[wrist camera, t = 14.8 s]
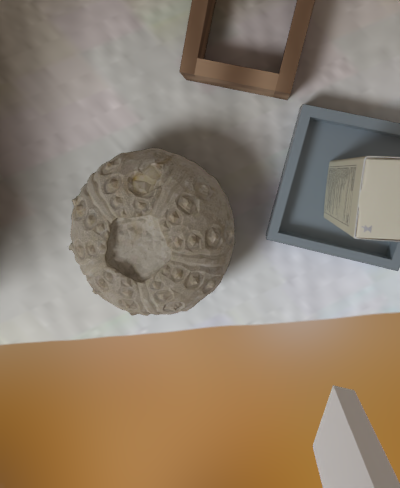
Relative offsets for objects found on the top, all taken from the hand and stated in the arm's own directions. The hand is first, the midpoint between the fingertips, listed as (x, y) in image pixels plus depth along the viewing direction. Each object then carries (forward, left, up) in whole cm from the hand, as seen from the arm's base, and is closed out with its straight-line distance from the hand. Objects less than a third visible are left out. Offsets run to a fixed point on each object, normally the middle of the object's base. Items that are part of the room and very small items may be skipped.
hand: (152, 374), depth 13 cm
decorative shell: (-7, -1, -29) cm, 30 cm away
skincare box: (+12, +8, -28) cm, 31 cm away
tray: (+12, +8, -28) cm, 32 cm away
